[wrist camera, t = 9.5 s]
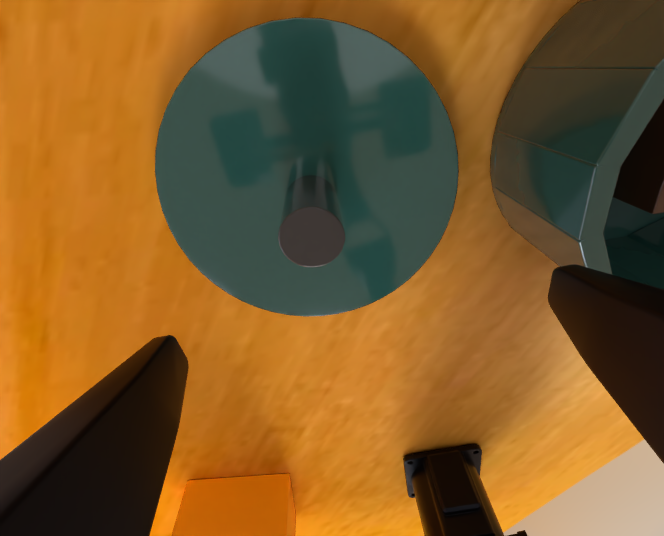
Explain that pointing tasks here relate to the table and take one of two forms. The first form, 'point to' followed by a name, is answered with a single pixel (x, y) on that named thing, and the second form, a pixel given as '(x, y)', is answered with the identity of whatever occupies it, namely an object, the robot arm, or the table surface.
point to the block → (645, 169)
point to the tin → (584, 139)
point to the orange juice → (237, 507)
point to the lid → (306, 166)
